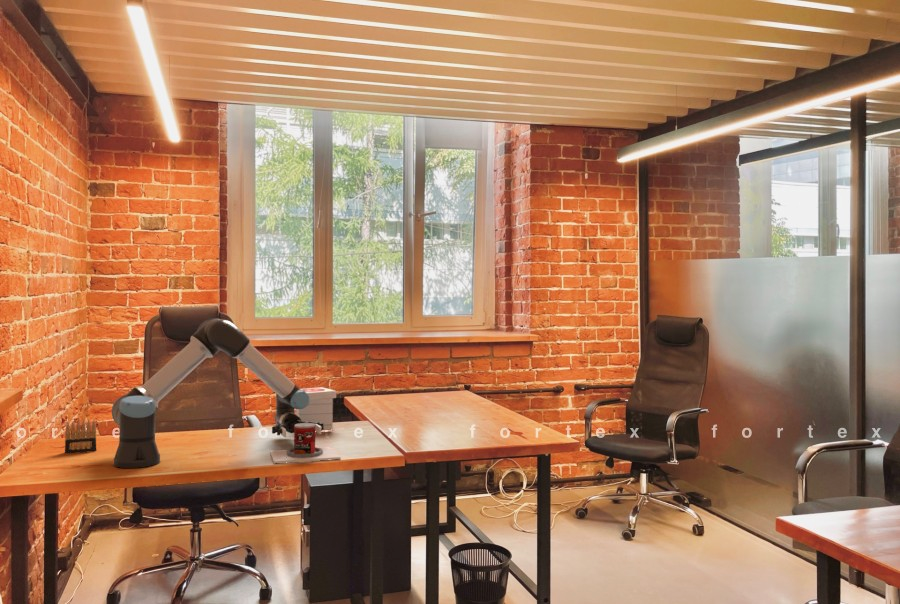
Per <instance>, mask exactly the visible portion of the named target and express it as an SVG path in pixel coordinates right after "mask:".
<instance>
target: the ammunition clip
mask: <svg viewBox="0 0 900 604" xmlns="http://www.w3.org/2000/svg"><path fill="white" fill-rule="evenodd" d="M86 423H87V424H86ZM96 425H97V424H96V421H95V419H93V420H92V424H91V421H90V419H88V420H87V422H85V420H82V423H80V421H79V420H77V423H76V424H75V422H74V420H73V421H72V422H71V425H70V422H69V421H67V422H66V425H65V426H66V427H65V433H64V435H65V436H64V437H65V439H64V454H65V453H67V454H76V452H80V453H88V452H87V451H92V452H97V428H96V427H97V426H96ZM70 426H71V427H70Z"/></svg>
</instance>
